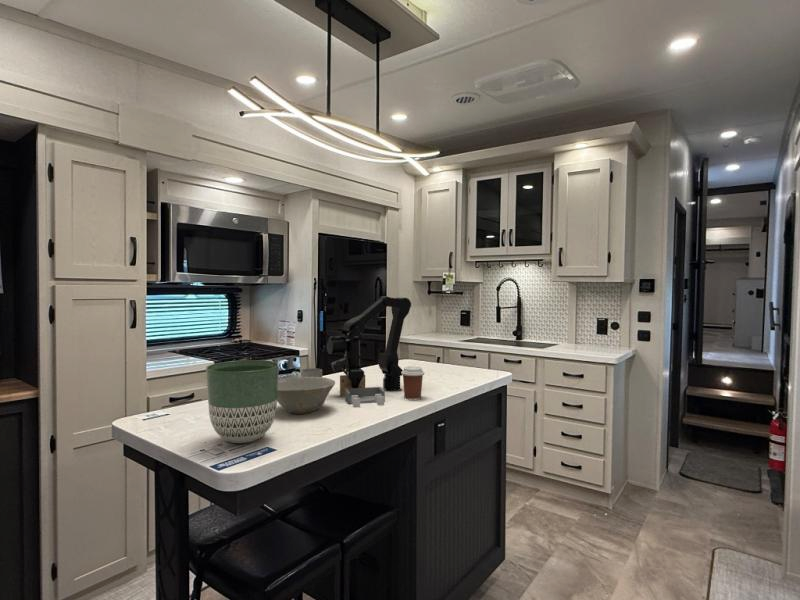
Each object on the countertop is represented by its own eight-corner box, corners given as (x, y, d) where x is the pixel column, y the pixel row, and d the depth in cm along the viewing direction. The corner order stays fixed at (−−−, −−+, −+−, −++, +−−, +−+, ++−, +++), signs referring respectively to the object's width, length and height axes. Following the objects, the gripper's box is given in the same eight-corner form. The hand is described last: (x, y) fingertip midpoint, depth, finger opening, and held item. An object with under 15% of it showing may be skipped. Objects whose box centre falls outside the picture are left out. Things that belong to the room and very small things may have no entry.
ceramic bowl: (255, 416, 158) (255, 386, 158) (293, 400, 180) (293, 374, 180) (312, 423, 151) (312, 392, 150) (345, 405, 172) (345, 378, 172)
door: (364, 393, 191) (364, 374, 191) (365, 395, 189) (365, 375, 189) (339, 395, 189) (339, 375, 188) (340, 396, 186) (340, 376, 186)
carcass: (380, 396, 186) (380, 386, 186) (387, 404, 174) (387, 394, 174) (344, 398, 182) (344, 388, 182) (349, 407, 170) (350, 396, 170)
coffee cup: (398, 396, 187) (398, 366, 187) (419, 394, 190) (419, 365, 190) (405, 401, 178) (405, 370, 178) (427, 400, 181) (427, 369, 181)
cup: (319, 397, 184) (319, 372, 184) (298, 397, 185) (298, 372, 184) (323, 392, 193) (323, 368, 193) (303, 392, 193) (303, 368, 193)
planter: (191, 443, 130) (190, 367, 130) (247, 426, 147) (247, 358, 146) (238, 457, 120) (238, 374, 119) (293, 436, 137) (293, 363, 136)
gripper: (329, 349, 195) (329, 386, 196) (335, 356, 177) (335, 397, 178) (356, 348, 198) (356, 385, 199) (364, 355, 180) (364, 395, 181)
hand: (352, 390), depth 189 cm, fingers open, 7 cm apart
